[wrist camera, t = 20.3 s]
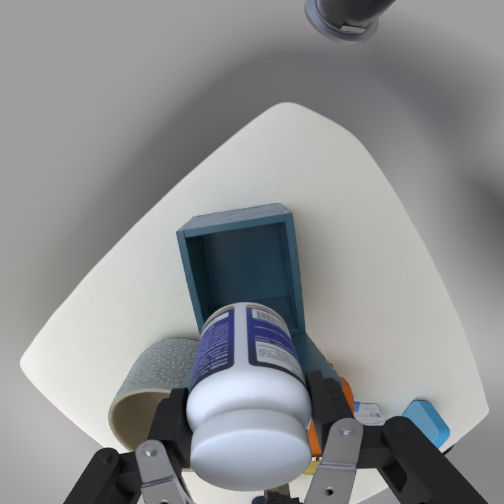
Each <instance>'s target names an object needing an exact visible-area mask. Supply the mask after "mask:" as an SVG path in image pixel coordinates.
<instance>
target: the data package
mask: <svg viewBox="0 0 504 504" xmlns="http://www.w3.org/2000/svg"><path fill="white" fill-rule="evenodd" d="M402 416H404V417H407V418H409V419H410V420H412V421H413V423H414V424H415V425H416V426H417V427H418V428H419V429H420V430H421V431H422V432H423V433H424V434H425V435H426V437H427V438H428V439H429V440H430V441H431V442H432V443H433V444H434V445H435V446H436V447H437V448H438V449H439V448H440V447H441V446H442V445H443V443H444V442H445V441H446V440H447V439H448V437H449V435H450V429H449V428H448V426H447V425H446V423H445V422H444V421H443V419H442V418H441V417H440V415H439V414H438V412H437V411H436V410H435V408H434V407H433V406H432V404H431V403H430V402H426V401H413V402H412V403H411V404H410V405H409V407H408V408H407V409H406V411H405V412H404V413H403V414H402Z"/></svg>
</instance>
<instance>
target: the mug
mask: <svg viewBox="0 0 504 504" xmlns="http://www.w3.org/2000/svg"><path fill="white" fill-rule="evenodd" d="M264 496H265V502H266V503H269V502H272V501H276V500H284V499H291V497H290V491H289V484H288V483H286V484H284V485H282V486H279V487H275V488H272V489H267V490H264Z"/></svg>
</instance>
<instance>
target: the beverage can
mask: <svg viewBox="0 0 504 504" xmlns="http://www.w3.org/2000/svg"><path fill="white" fill-rule="evenodd" d="M265 503H266V502H265V496H261V497H257V498H255V499H254V500H253V501H252V504H265Z"/></svg>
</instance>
